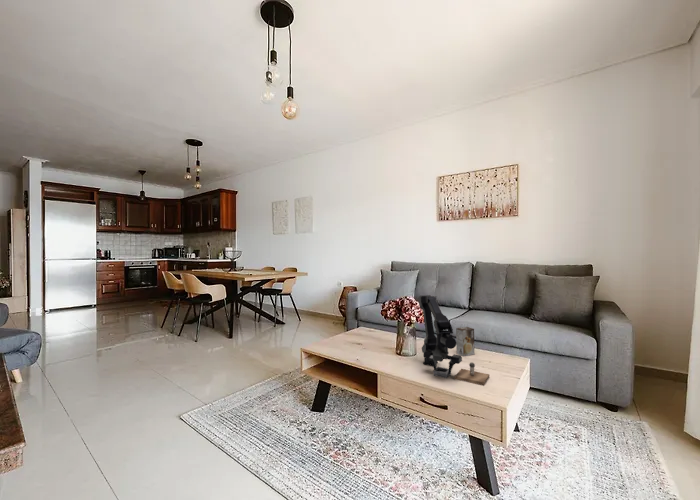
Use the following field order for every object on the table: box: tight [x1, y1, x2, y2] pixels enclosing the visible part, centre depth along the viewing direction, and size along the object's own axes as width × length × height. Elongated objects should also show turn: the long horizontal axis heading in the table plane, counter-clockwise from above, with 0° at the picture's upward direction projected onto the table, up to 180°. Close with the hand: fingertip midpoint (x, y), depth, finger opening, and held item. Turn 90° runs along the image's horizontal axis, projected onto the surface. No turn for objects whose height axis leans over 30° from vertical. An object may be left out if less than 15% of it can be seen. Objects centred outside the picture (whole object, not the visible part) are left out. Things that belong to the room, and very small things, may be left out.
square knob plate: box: [454, 362, 490, 386], centre depth 162 cm, size 14×12×8 cm
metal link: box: [433, 366, 452, 379], centre depth 166 cm, size 7×7×2 cm
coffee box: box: [455, 326, 476, 357], centre depth 199 cm, size 9×6×16 cm
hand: (442, 372), depth 166 cm, fingers closed on metal link, 7 cm apart
